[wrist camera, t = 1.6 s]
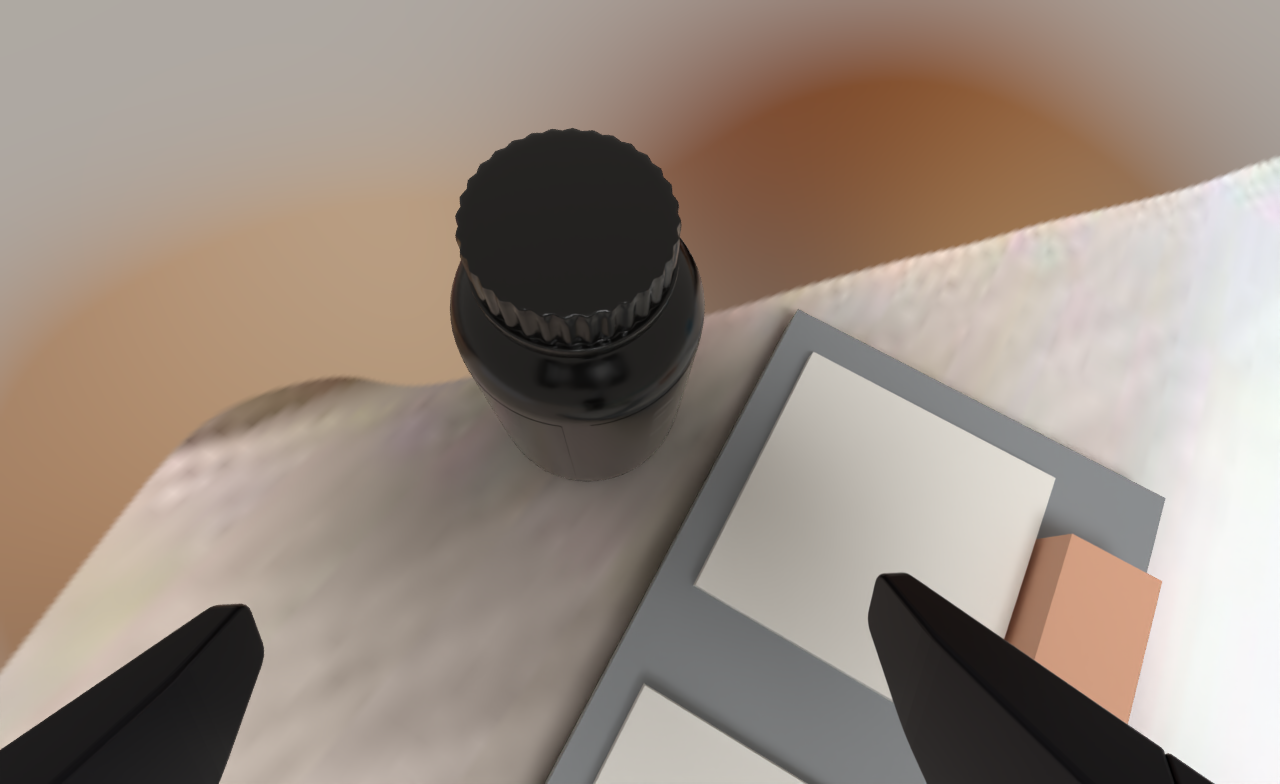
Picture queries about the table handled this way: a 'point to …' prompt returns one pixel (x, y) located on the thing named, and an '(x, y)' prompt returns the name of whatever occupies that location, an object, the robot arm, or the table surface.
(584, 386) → the supplement bottle
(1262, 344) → the table surface
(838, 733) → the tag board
